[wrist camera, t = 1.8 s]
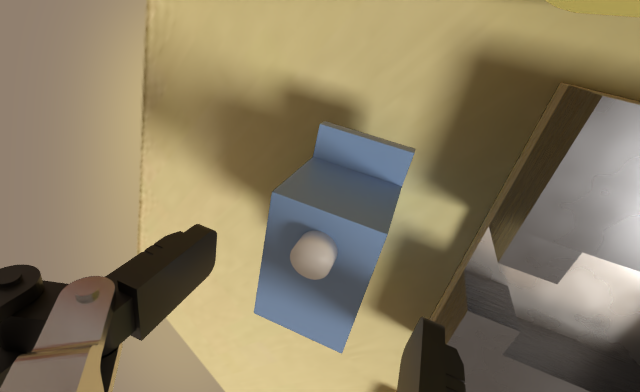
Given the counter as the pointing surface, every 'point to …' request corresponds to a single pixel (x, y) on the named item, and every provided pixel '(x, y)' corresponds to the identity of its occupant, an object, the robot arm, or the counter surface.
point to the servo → (329, 233)
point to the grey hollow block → (557, 259)
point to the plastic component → (600, 6)
